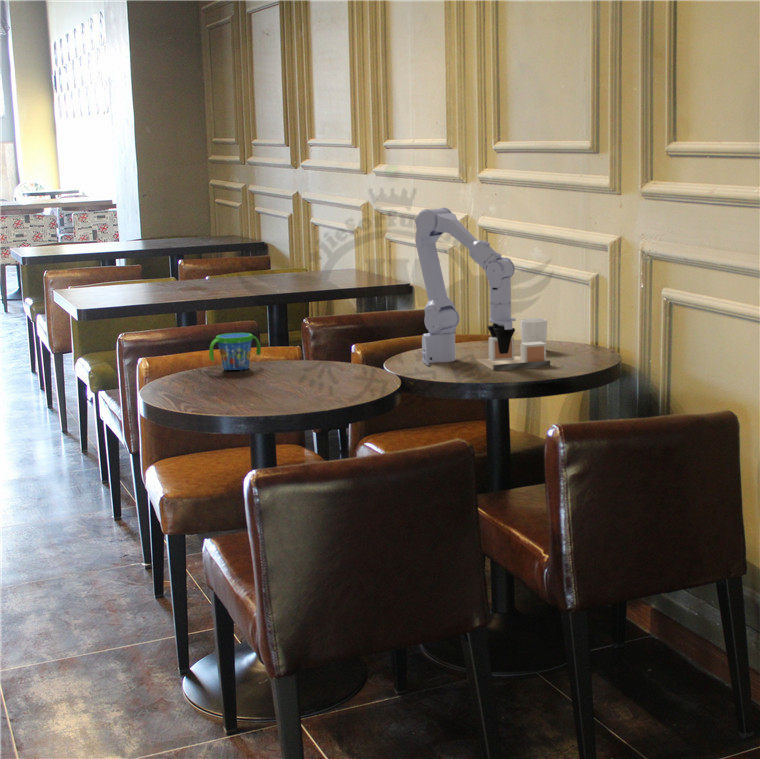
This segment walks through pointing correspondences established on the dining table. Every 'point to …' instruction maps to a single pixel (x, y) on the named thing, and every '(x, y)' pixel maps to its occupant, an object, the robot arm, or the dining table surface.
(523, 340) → the white cup
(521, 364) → the shelf board
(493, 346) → the carton
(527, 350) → the faced carton
